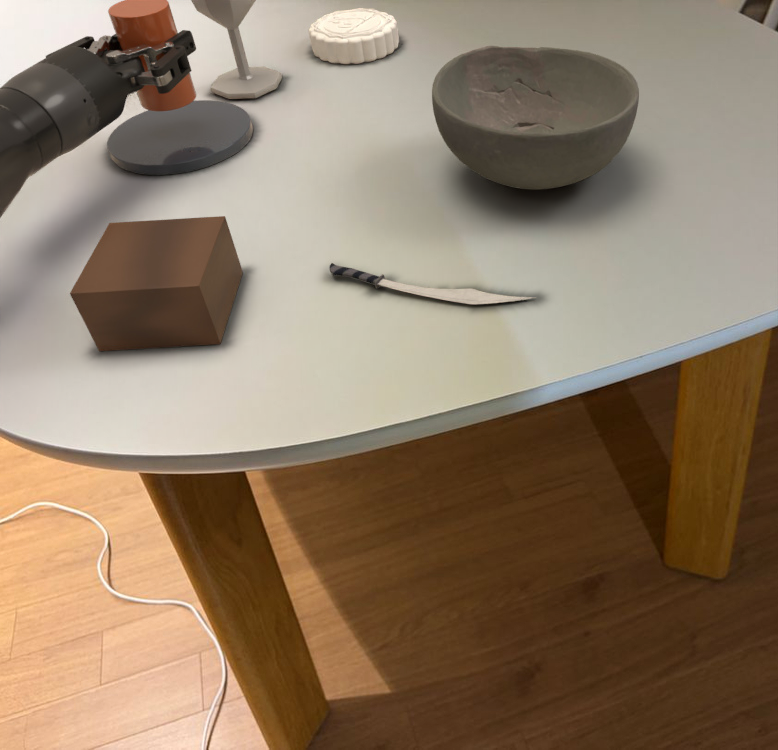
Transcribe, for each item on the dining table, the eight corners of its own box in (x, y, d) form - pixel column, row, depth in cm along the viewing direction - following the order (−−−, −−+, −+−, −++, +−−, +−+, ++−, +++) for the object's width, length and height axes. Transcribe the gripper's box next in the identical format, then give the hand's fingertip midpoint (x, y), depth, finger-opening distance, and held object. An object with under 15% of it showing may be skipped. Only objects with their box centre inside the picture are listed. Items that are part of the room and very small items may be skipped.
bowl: (481, 245, 75) (475, 147, 68) (415, 150, 89) (404, 60, 82) (669, 196, 80) (681, 99, 73) (579, 113, 94) (581, 26, 87)
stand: (99, 351, 66) (69, 293, 62) (133, 278, 73) (109, 222, 69) (220, 344, 66) (199, 285, 62) (243, 272, 73) (225, 215, 69)
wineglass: (237, 69, 107) (190, -110, 93) (294, 76, 105) (255, -107, 90) (199, 97, 101) (142, -90, 87) (259, 104, 99) (210, -86, 84)
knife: (321, 284, 71) (319, 275, 71) (332, 268, 73) (330, 259, 72) (530, 315, 67) (530, 306, 66) (537, 297, 69) (537, 288, 68)
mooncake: (344, 26, 117) (340, 0, 114) (415, 37, 113) (412, 11, 110) (295, 57, 109) (289, 30, 107) (369, 70, 105) (365, 42, 103)
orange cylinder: (134, 112, 87) (100, 18, 80) (149, 89, 92) (118, -3, 85) (189, 110, 87) (159, 15, 80) (201, 86, 92) (174, -5, 85)
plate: (91, 179, 87) (87, 169, 86) (133, 113, 98) (130, 103, 98) (239, 170, 87) (236, 160, 86) (263, 105, 99) (261, 96, 98)
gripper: (109, 71, 71) (212, 5, 83) (-20, 57, 75) (96, -5, 86) (138, 149, 76) (231, 76, 88) (16, 132, 80) (121, 64, 91)
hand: (164, 36), depth 87 cm, fingers closed on orange cylinder, 6 cm apart
